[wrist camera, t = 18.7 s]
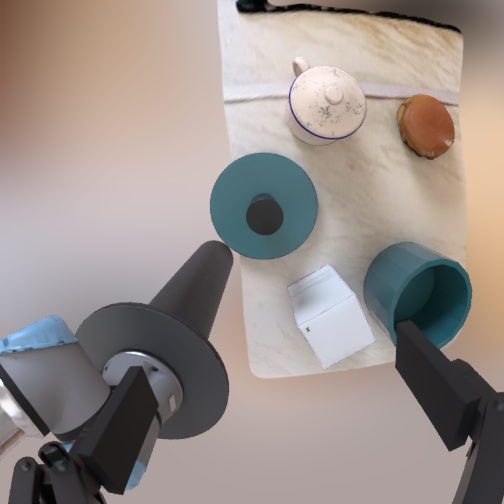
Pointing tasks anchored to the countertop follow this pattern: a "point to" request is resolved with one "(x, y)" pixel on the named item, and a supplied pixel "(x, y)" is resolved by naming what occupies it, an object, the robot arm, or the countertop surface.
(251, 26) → the countertop surface
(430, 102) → the burger
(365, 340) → the white packaging box
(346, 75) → the teacup with lid
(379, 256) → the tin
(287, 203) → the tin lid
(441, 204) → the countertop surface
